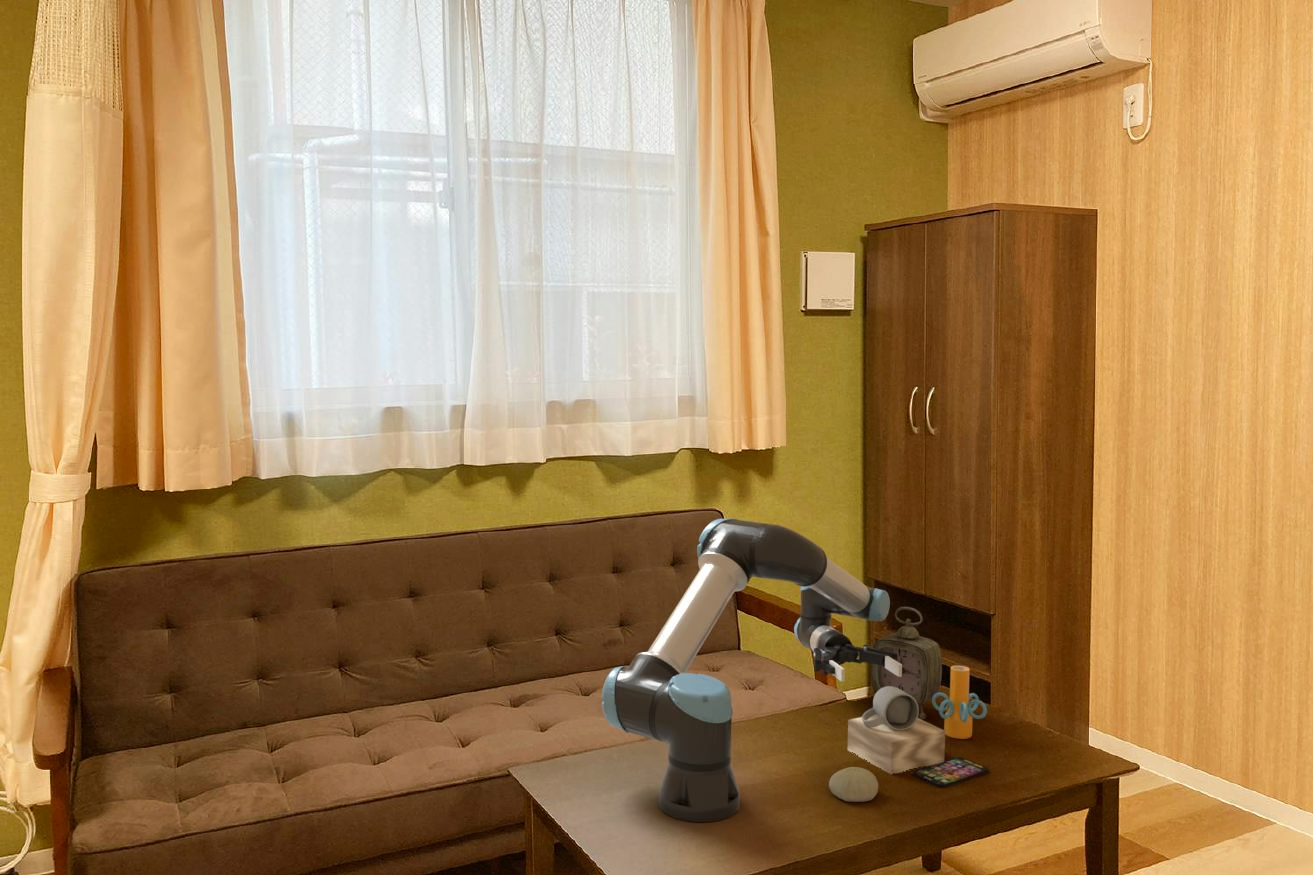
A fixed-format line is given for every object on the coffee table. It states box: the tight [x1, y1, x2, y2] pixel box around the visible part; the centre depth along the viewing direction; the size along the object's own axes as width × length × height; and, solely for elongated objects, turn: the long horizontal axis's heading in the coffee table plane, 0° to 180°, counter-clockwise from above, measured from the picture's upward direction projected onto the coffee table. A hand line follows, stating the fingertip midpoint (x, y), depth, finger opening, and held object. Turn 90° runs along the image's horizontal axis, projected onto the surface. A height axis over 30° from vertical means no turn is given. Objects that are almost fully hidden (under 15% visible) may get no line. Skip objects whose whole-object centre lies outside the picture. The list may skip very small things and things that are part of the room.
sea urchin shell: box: [828, 766, 879, 803], centre depth 196 cm, size 9×8×8 cm
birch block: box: [847, 714, 946, 775], centre depth 215 cm, size 14×14×7 cm
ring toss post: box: [931, 665, 988, 740], centre depth 227 cm, size 12×10×15 cm
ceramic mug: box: [861, 686, 920, 731], centre depth 215 cm, size 11×8×8 cm
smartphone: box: [912, 756, 990, 789], centre depth 206 cm, size 8×1×15 cm
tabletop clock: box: [870, 606, 943, 721], centre depth 241 cm, size 14×9×25 cm, turn 50°
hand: (872, 672), depth 224 cm, fingers open, 13 cm apart
